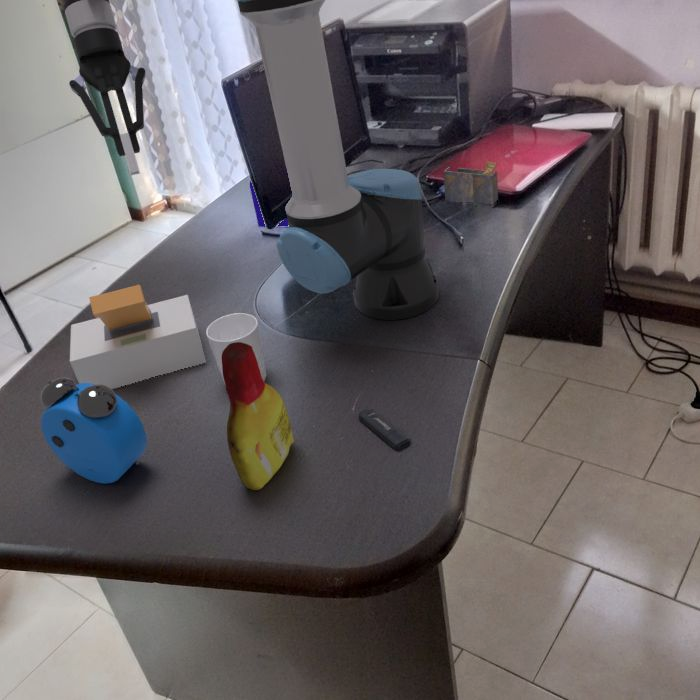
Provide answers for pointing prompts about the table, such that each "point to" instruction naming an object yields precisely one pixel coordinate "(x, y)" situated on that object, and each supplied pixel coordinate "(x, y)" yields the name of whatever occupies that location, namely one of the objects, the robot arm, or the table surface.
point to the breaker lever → (121, 307)
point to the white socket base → (137, 346)
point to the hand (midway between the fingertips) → (135, 172)
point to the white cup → (236, 337)
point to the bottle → (254, 418)
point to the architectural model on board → (472, 185)
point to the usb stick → (384, 429)
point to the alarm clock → (91, 429)
